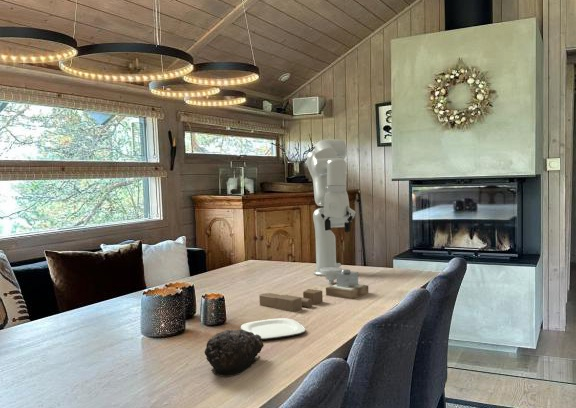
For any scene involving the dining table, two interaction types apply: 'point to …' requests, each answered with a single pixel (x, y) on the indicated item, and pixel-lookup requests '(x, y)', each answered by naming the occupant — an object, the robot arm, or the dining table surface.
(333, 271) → the showerhead
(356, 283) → the housing
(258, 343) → the pine cone
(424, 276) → the dining table surface
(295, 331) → the plate
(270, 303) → the wooden block set
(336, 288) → the stand
